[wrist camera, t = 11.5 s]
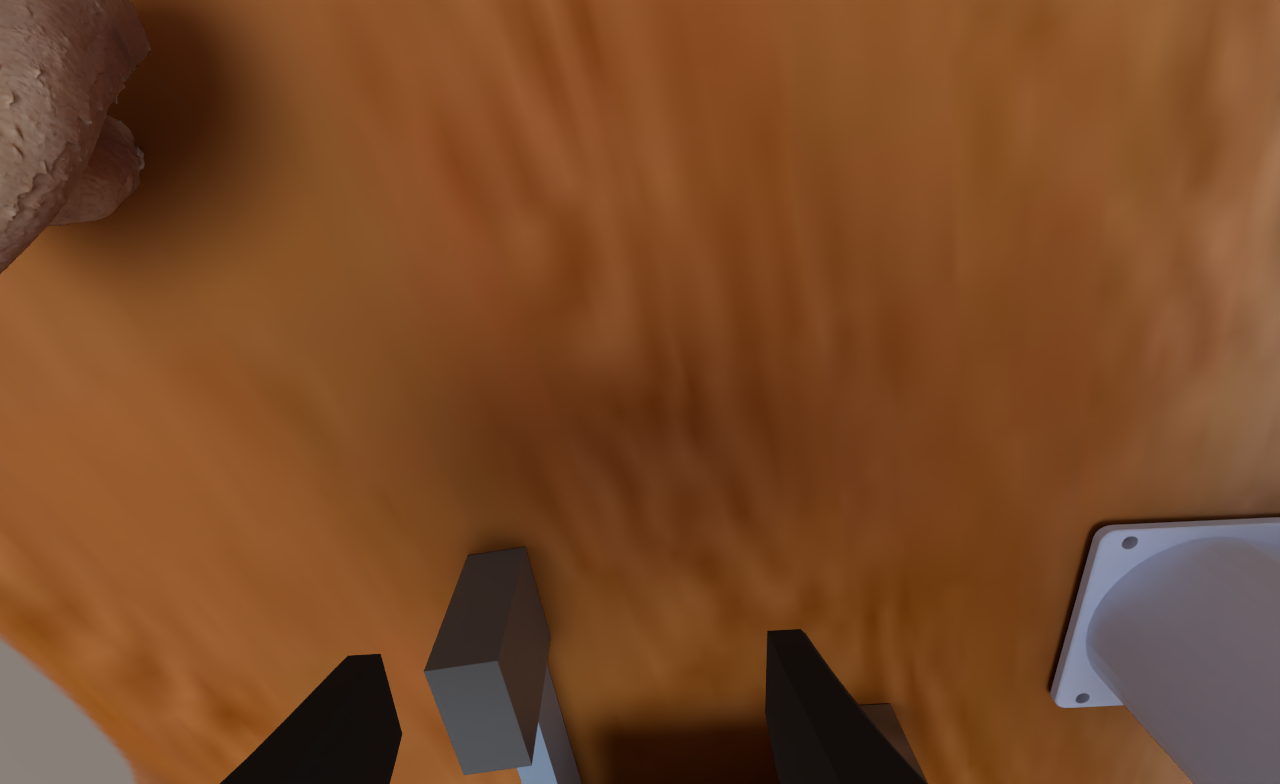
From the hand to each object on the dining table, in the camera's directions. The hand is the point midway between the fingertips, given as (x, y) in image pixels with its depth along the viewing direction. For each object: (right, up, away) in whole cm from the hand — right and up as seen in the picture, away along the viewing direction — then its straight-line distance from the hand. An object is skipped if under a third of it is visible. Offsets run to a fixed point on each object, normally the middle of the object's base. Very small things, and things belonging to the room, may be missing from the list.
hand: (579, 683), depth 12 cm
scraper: (-2, -9, +13) cm, 16 cm away
